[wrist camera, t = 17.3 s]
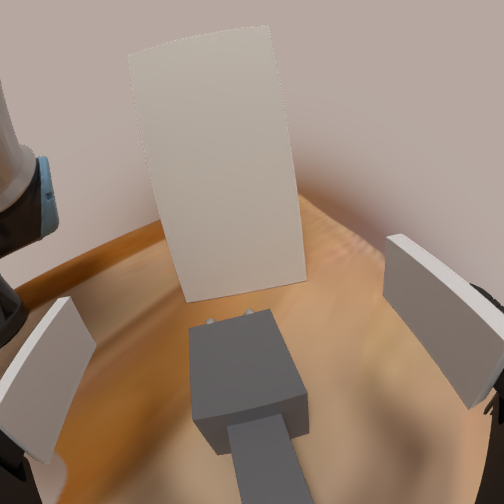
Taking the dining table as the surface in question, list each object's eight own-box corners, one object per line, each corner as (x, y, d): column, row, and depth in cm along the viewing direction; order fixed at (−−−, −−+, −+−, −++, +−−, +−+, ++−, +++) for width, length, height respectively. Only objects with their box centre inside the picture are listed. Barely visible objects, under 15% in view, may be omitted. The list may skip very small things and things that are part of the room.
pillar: (306, 280, 31) (267, 25, 20) (186, 302, 31) (127, 55, 20) (286, 241, 42) (256, 56, 31) (196, 258, 42) (155, 76, 31)
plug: (357, 547, 6) (376, 543, 4) (242, 575, 6) (216, 581, 4) (271, 340, 24) (263, 294, 22) (205, 356, 23) (188, 312, 21)
